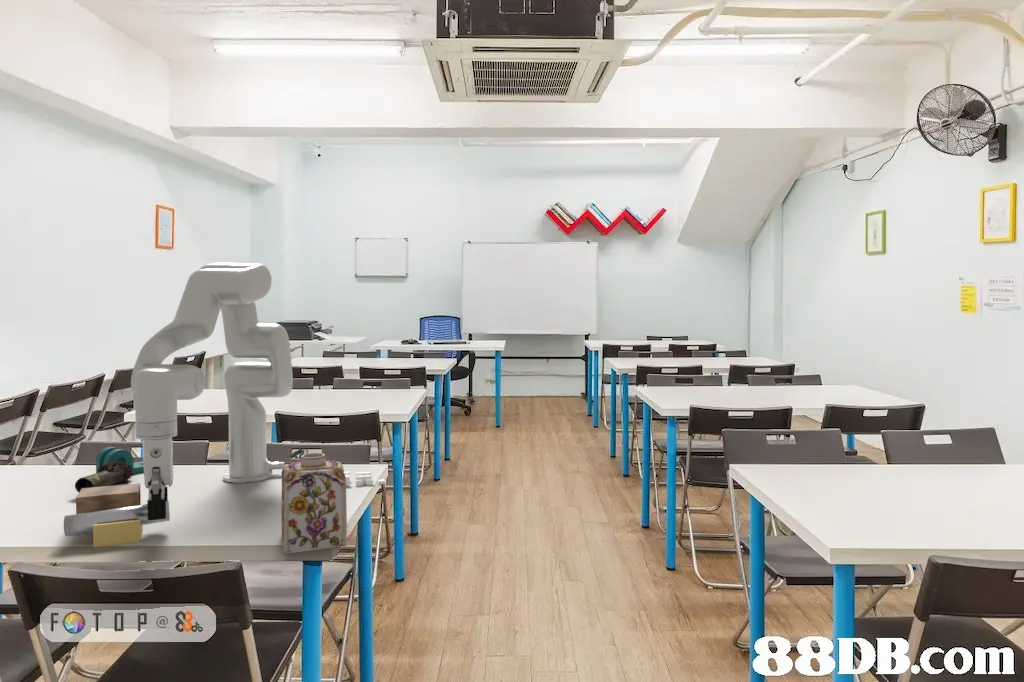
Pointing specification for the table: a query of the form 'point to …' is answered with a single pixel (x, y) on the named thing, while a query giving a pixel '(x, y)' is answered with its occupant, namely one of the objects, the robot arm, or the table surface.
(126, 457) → the bracket
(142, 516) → the steel axle
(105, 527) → the ochre V-block
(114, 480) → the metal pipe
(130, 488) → the walnut block
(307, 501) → the decorative jar
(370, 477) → the modular blocks
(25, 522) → the table surface
